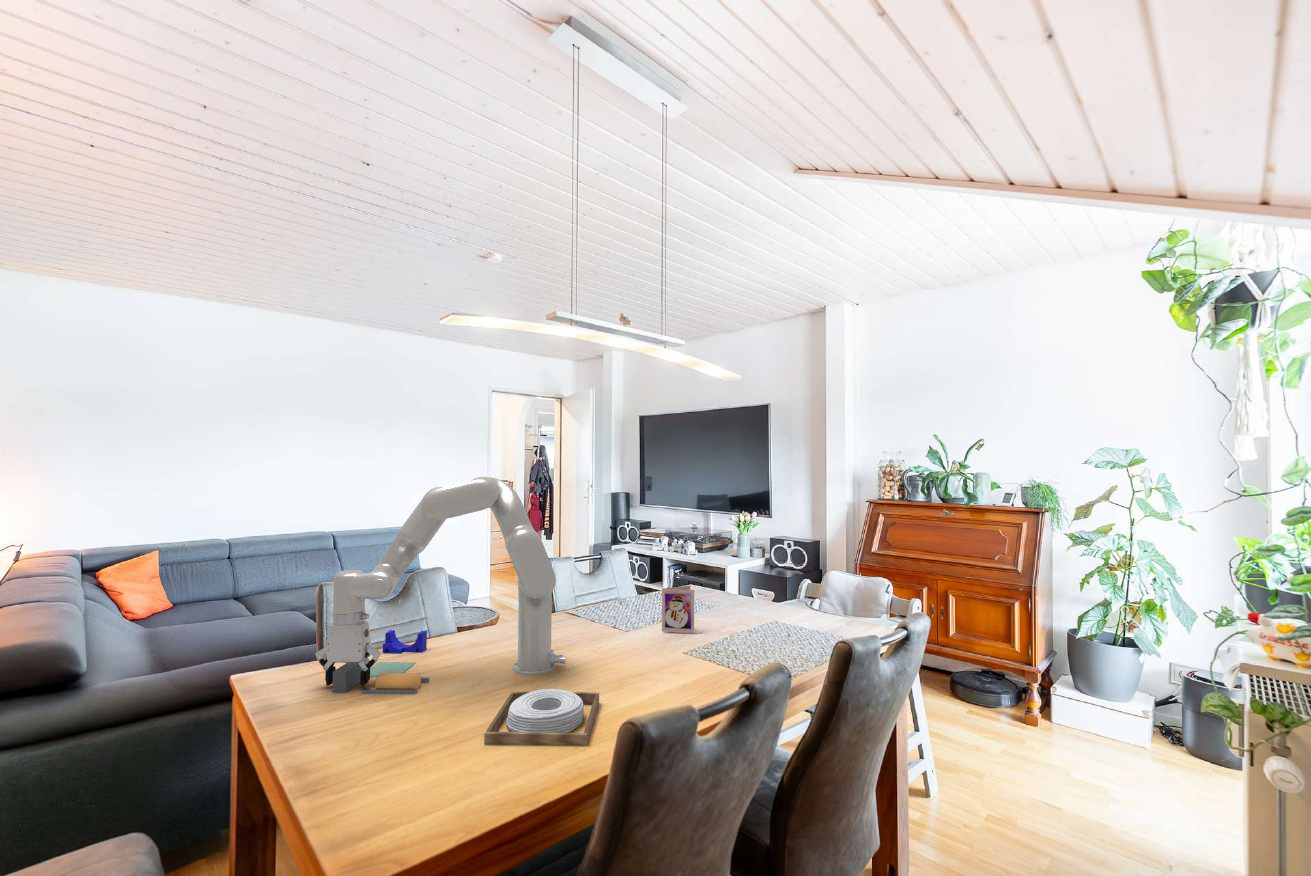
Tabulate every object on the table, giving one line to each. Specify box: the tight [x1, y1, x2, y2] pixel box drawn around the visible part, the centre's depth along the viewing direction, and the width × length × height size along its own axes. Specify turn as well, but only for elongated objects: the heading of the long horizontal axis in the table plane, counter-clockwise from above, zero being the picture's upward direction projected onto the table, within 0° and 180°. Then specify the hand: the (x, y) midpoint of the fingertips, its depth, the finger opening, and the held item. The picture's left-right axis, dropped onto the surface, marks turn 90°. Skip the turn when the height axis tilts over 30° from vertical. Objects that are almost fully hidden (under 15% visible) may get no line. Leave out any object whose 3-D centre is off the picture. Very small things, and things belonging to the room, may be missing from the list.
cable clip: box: [382, 629, 428, 655], centre depth 182 cm, size 12×4×6 cm, turn 86°
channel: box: [360, 676, 431, 695], centre depth 153 cm, size 14×9×2 cm, turn 89°
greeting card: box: [661, 585, 695, 634], centre depth 206 cm, size 11×7×15 cm, turn 80°
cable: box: [505, 688, 585, 733], centre depth 133 cm, size 18×18×6 cm
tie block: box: [332, 663, 363, 694], centre depth 153 cm, size 4×8×6 cm, turn 179°
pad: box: [370, 661, 417, 678], centre depth 166 cm, size 11×11×1 cm
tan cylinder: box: [374, 673, 422, 690], centre depth 152 cm, size 10×4×4 cm, turn 89°
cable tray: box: [483, 690, 600, 747], centre depth 132 cm, size 22×22×4 cm
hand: (347, 683), depth 153 cm, fingers open, 8 cm apart
